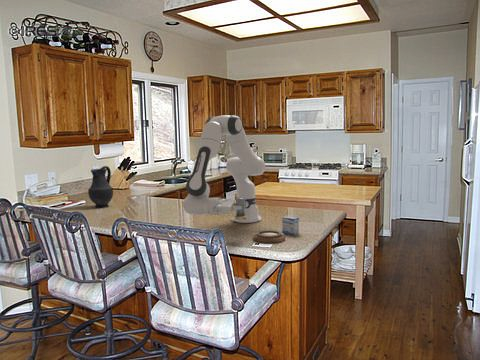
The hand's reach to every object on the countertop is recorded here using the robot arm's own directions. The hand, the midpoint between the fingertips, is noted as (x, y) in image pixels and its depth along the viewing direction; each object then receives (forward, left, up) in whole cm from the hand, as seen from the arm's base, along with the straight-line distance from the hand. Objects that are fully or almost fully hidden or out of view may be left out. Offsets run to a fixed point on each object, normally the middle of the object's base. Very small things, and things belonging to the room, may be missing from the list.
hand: (242, 206), depth 205 cm
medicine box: (-12, +25, -17) cm, 32 cm away
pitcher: (-88, -113, -17) cm, 145 cm away
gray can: (0, -1, -6) cm, 6 cm away
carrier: (0, +14, -17) cm, 22 cm away
